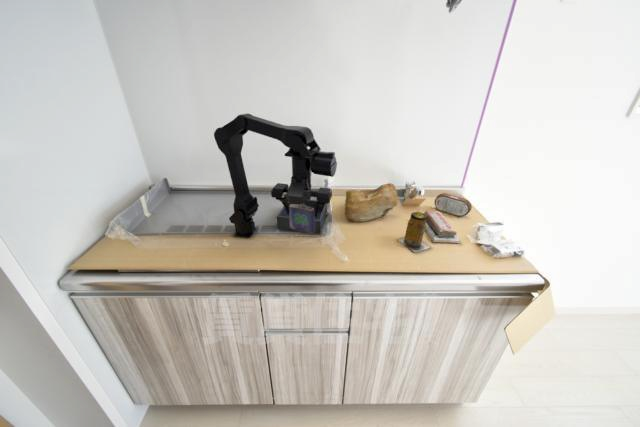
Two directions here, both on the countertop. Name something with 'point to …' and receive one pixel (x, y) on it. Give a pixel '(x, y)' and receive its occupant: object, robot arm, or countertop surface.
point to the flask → (302, 218)
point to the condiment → (415, 232)
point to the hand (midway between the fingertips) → (302, 216)
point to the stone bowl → (370, 203)
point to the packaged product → (439, 228)
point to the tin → (453, 204)
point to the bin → (284, 218)
